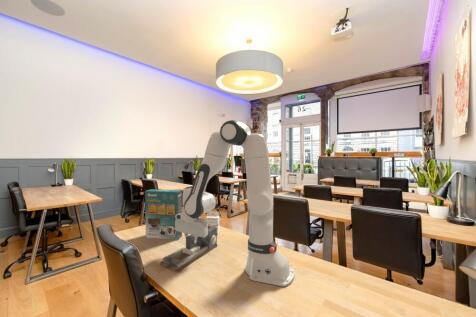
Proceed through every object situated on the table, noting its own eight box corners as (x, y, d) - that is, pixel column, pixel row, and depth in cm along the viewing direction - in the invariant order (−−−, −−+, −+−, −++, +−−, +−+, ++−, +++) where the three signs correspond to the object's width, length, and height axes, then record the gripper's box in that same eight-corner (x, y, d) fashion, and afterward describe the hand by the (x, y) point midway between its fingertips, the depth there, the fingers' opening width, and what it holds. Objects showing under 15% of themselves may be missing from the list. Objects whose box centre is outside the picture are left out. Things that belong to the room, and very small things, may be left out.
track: (217, 246, 127) (217, 227, 126) (178, 272, 100) (178, 247, 99) (201, 242, 133) (201, 223, 132) (160, 265, 106) (159, 241, 105)
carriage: (200, 250, 117) (200, 235, 117) (192, 255, 112) (192, 239, 112) (190, 248, 120) (190, 233, 120) (182, 252, 115) (182, 236, 115)
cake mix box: (182, 235, 142) (181, 190, 141) (178, 239, 136) (177, 192, 135) (150, 233, 145) (150, 189, 144) (145, 237, 139) (145, 190, 138)
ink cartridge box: (205, 234, 144) (205, 212, 144) (207, 232, 149) (207, 210, 149) (218, 235, 143) (218, 213, 143) (219, 232, 148) (219, 211, 148)
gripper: (210, 217, 113) (210, 243, 114) (181, 212, 123) (181, 236, 124) (203, 221, 108) (203, 248, 108) (172, 214, 118) (173, 240, 118)
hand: (191, 241), depth 116 cm, fingers closed on carriage, 3 cm apart
